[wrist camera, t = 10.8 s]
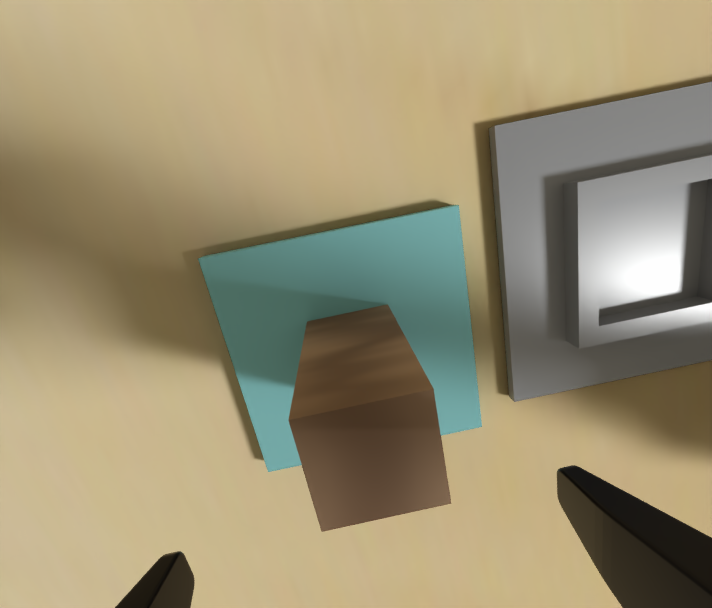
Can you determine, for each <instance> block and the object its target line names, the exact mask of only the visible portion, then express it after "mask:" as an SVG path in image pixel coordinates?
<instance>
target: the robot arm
mask: <svg viewBox="0 0 712 608" xmlns="http://www.w3.org/2000/svg"><path fill="white" fill-rule="evenodd" d="M557 494H558V499H559V502H560V505H561V507H562V508H563V510H564V512H565V514H566V515H567V517H568V519H569V521H570V522H571V524H572V526H573V528H574V529H575V531H576V533H577V535H578V536H579V538H580V540H581V542H582V543H583V545H584V547H585V549H586V550H587V552H588V554H589V556H590V557H591V559H592V561H593V563H594V564H595V566H596V568H597V569H598V571H599V573H600V574H601V576H602V578H603V579H604V581H605V582H606V584H607V585H608V587H609V588H610V590H611V591H612V593H613V594H614V595H615V597H616V598H617V600H618V601H619V603H620V604H621V606H622V607H623V608H712V538H711V537H709V536H707V535H705V534H704V533H702V532H700V531H698V530H696V529H694V528H692V527H690V526H689V525H687V524H685V523H683V522H681V521H679V520H677V519H675V518H674V517H672V516H670V515H668V514H666V513H664V512H662V511H660V510H659V509H657V508H655V507H653V506H651V505H649V504H647V503H645V502H644V501H642V500H640V499H638V498H636V497H634V496H632V495H630V494H629V493H627V492H625V491H623V490H621V489H619V488H617V487H615V486H614V485H612V484H610V483H608V482H606V481H604V480H602V479H601V478H599V477H597V476H595V475H593V474H591V473H589V472H587V471H586V470H584V469H582V468H580V467H578V466H568V467H563V468H560V469H558V471H557ZM193 590H194V575H193V573H192V571H191V568H190V566H189V564H188V562H187V560H186V557H185V555H184V554H183V553H182V552H181V551H178V552H173V553H169V554H165V555H163V556H162V557H161V558H160V559H159V560H158V561H157V562H156V563H155V564H154V565H153V566H152V567H151V568H150V570H149V571H148V572H147V573H146V574H145V575H144V576H143V577H142V578H141V579H140V581H139V582H138V583H137V584H136V585H135V586H134V587H133V588H132V589H131V591H130V592H129V593H128V594H127V595H126V596H125V597H124V598H123V599H122V601H121V602H120V603H119V604H118V605H117V606H116V607H115V608H190V607H191V601H192V596H193Z"/></svg>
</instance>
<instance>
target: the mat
mask: <svg viewBox="0 0 712 608" xmlns="http://www.w3.org/2000/svg"><path fill="white" fill-rule="evenodd" d="M198 260H199V263H200V266H201V269H202V272H203V275H204V278H205V281H206V284H207V287H208V290H209V293H210V296H211V299H212V302H213V306H214V309H215V312H216V315H217V318H218V321H219V324H220V327H221V330H222V333H223V336H224V339H225V342H226V345H227V348H228V351H229V354H230V357H231V360H232V363H233V366H234V369H235V372H236V375H237V378H238V382H239V385H240V388H241V391H242V394H243V397H244V400H245V403H246V406H247V409H248V412H249V415H250V418H251V421H252V424H253V427H254V430H255V433H256V436H257V439H258V442H259V445H260V448H261V451H262V454H263V457H264V461H265V464H266V467H267V470H268V472H271V471H276V470H280V469H285V468H290V467H294V466H299V465H302V464H301V461H300V458H299V454H298V451H297V448H296V444H295V441H294V438H293V434H292V431H291V428H290V424H289V421H288V419H289V414H290V408H291V403H292V398H293V393H294V387H295V382H296V377H297V371H298V366H299V361H300V355H301V350H302V345H303V339H304V334H305V329H306V324H307V321H312V320H316V319H321V318H326V317H330V316H335V315H340V314H344V313H349V312H354V311H358V310H363V309H368V308H373V307H377V306H382V305H387V304H388V306H389V307H390V309H391V311H392V313H393V315H394V317H395V318H396V320H397V322H398V324H399V326H400V328H401V330H402V331H403V333H404V335H405V337H406V339H407V341H408V342H409V344H410V346H411V348H412V350H413V352H414V354H415V355H416V357H417V359H418V361H419V363H420V365H421V366H422V368H423V370H424V372H425V374H426V376H427V378H428V379H429V381H430V383H431V385H432V387H433V389H434V394H435V401H436V407H437V414H438V420H439V427H440V434H441V435H446V434H450V433H455V432H460V431H464V430H469V429H474V428H479V427H482V423H481V413H480V404H479V394H478V385H477V375H476V366H475V356H474V347H473V337H472V328H471V318H470V309H469V299H468V290H467V280H466V270H465V261H464V251H463V242H462V232H461V223H460V213H459V205H450V206H446V207H441V208H436V209H431V210H426V211H421V212H416V213H411V214H406V215H402V216H397V217H392V218H387V219H382V220H377V221H372V222H367V223H363V224H358V225H353V226H348V227H343V228H338V229H333V230H328V231H323V232H319V233H314V234H309V235H304V236H299V237H294V238H289V239H284V240H280V241H275V242H270V243H265V244H260V245H255V246H250V247H245V248H240V249H236V250H231V251H226V252H221V253H216V254H211V255H206V256H203V257H201V258H199V259H198Z"/></svg>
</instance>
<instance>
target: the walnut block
mask: <svg viewBox="0 0 712 608" xmlns="http://www.w3.org/2000/svg"><path fill="white" fill-rule="evenodd" d="M288 421H289V424H290V428H291V431H292V434H293V438H294V441H295V444H296V448H297V451H298V454H299V458H300V461H301V464H302V468H303V471H304V474H305V478H306V481H307V484H308V488H309V491H310V494H311V498H312V501H313V504H314V508H315V511H316V514H317V518H318V521H319V524H320V528H321V531H322V532H323V531H327V530H332V529H336V528H341V527H346V526H350V525H355V524H359V523H364V522H368V521H373V520H378V519H382V518H387V517H391V516H396V515H400V514H405V513H410V512H414V511H419V510H423V509H428V508H433V507H437V506H442V505H446V504H451V499H450V492H449V486H448V479H447V473H446V466H445V460H444V453H443V447H442V440H441V434H440V427H439V420H438V414H437V407H436V401H435V394H434V389H433V387H432V385H431V383H430V381H429V379H428V378H427V376H426V374H425V372H424V370H423V368H422V366H421V365H420V363H419V361H418V359H417V357H416V355H415V354H414V352H413V350H412V348H411V346H410V344H409V342H408V341H407V339H406V337H405V335H404V333H403V331H402V330H401V328H400V326H399V324H398V322H397V320H396V318H395V317H394V315H393V313H392V311H391V309H390V307H389V306H388V304H387V305H382V306H377V307H373V308H368V309H363V310H358V311H354V312H349V313H344V314H340V315H335V316H330V317H326V318H321V319H316V320H312V321H307V324H306V329H305V334H304V339H303V345H302V350H301V355H300V361H299V366H298V371H297V377H296V382H295V387H294V393H293V398H292V403H291V408H290V414H289V419H288Z"/></svg>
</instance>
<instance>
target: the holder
mask: <svg viewBox="0 0 712 608" xmlns="http://www.w3.org/2000/svg"><path fill="white" fill-rule="evenodd" d="M489 138H490V151H491V164H492V177H493V191H494V204H495V217H496V230H497V243H498V256H499V270H500V283H501V296H502V309H503V322H504V336H505V349H506V362H507V375H508V388H509V396H510V398H511V399H512V400H513V401H514V402H516V401H521V400H525V399H530V398H535V397H540V396H544V395H549V394H554V393H558V392H563V391H568V390H573V389H577V388H582V387H587V386H592V385H596V384H601V383H606V382H611V381H615V380H620V379H625V378H629V377H634V376H639V375H644V374H648V373H653V372H658V371H663V370H667V369H672V368H677V367H682V366H686V365H691V364H696V363H701V362H705V361H710V360H712V82H708V83H703V84H698V85H693V86H688V87H683V88H678V89H673V90H669V91H664V92H659V93H654V94H649V95H644V96H639V97H634V98H629V99H624V100H619V101H614V102H609V103H604V104H599V105H595V106H590V107H585V108H580V109H575V110H570V111H565V112H560V113H555V114H550V115H545V116H540V117H535V118H530V119H525V120H520V121H516V122H511V123H506V124H501V125H496V126H493V127H491V128H489Z"/></svg>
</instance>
